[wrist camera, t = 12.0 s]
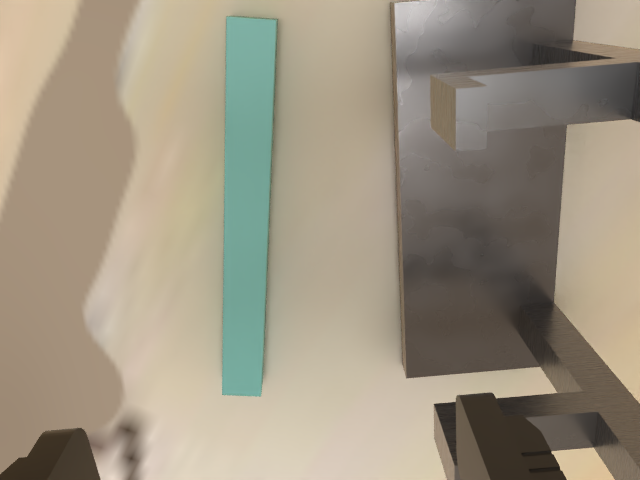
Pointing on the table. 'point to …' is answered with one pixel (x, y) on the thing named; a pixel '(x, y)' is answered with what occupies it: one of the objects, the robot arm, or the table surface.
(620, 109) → the hook rack
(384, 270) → the table surface
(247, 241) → the teal rail
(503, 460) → the robot arm
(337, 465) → the table surface
